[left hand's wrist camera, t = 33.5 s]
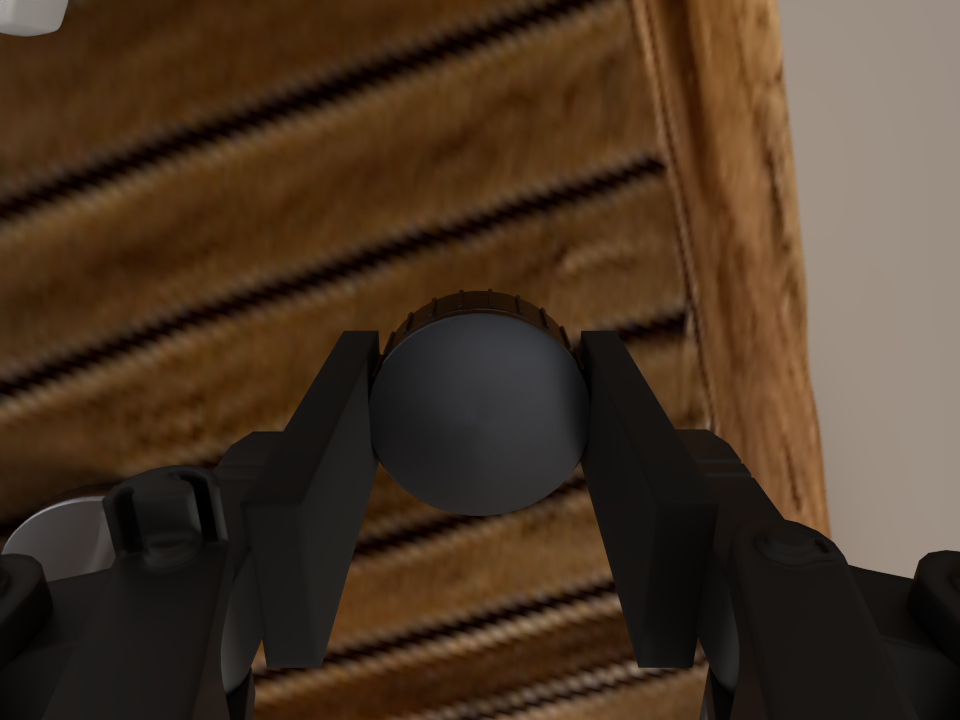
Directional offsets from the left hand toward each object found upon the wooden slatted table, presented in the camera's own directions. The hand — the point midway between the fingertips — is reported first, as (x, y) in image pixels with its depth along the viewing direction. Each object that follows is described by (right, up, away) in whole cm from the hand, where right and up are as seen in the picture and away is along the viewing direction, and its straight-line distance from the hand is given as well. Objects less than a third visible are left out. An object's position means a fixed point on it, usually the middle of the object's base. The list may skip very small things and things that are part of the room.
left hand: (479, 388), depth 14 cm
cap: (0, 0, -1) cm, 1 cm away
